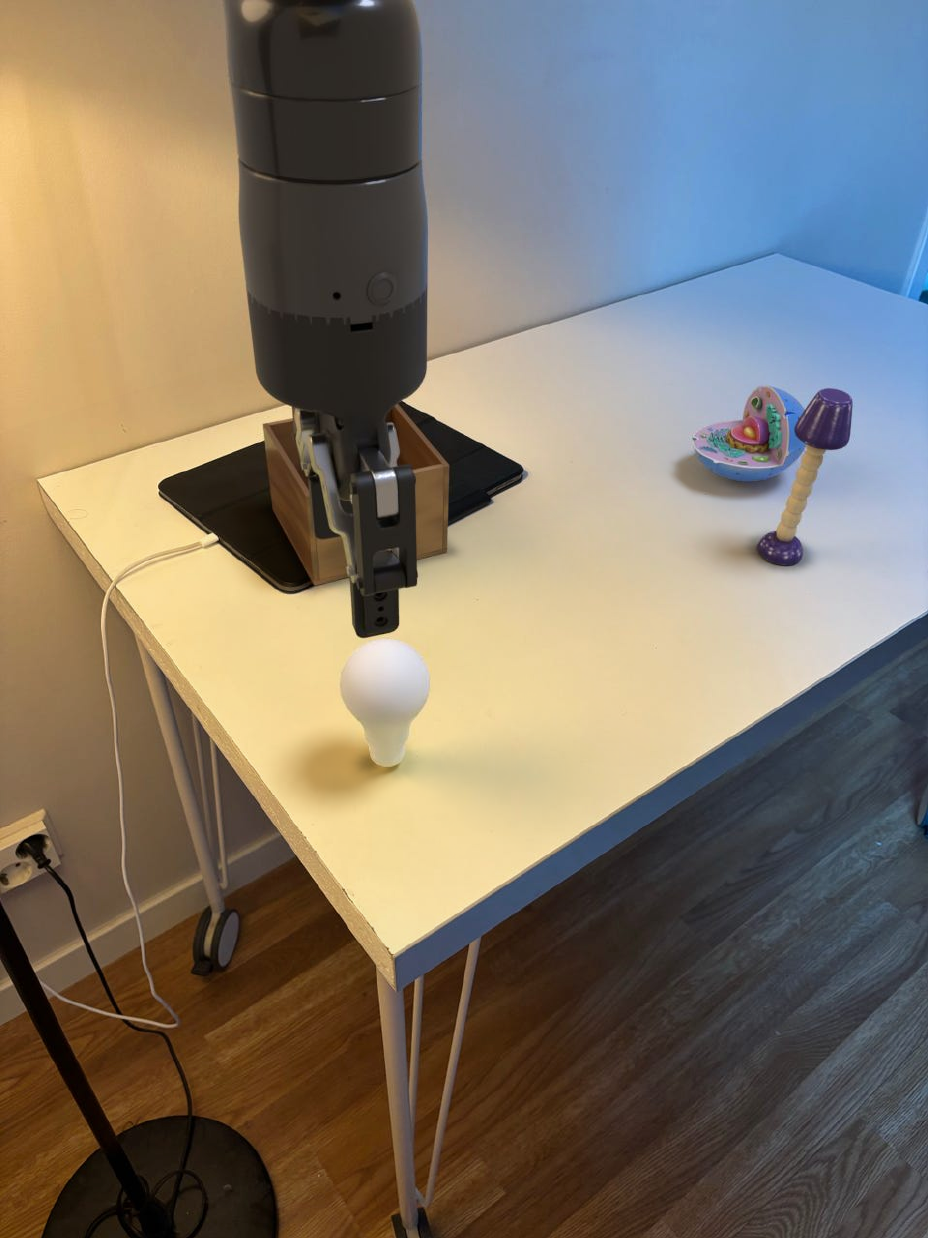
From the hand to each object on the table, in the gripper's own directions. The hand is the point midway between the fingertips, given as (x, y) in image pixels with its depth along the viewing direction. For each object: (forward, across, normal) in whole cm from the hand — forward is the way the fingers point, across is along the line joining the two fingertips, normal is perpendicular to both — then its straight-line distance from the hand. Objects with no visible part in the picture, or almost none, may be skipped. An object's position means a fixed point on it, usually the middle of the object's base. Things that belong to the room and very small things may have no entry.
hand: (353, 579), depth 50 cm
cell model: (+22, -32, +50) cm, 64 cm away
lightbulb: (+22, -6, +3) cm, 24 cm away
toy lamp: (+22, -19, +46) cm, 55 cm away
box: (+22, -35, +9) cm, 42 cm away
